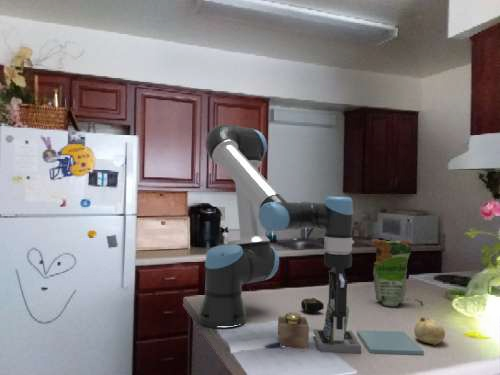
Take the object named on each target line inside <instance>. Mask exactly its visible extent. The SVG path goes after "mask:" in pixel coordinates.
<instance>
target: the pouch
mask: <svg viewBox="0 0 500 375" xmlns="http://www.w3.org/2000/svg"><path fill="white" fill-rule="evenodd" d="M372 242H373V244H374V247H375V250H376V253H375V257H376V261H374V263H373V271H372V274H373V277H374V278H373V284H374V291H375V299H376V300H377V301H380V302H382V306H385V307H398V306H399V304H400V303H403V302H404V301H405V297H406V296H405V295H406V291H407V286H406V284H407V281H406V280H407V272H408V267H407V266H408V265H409V264H408V262H409V261H408V260H409V258H410V255H411V253H412V247H411V246H412V245H411V244H412V242H410V241H409V240H393V239H392V238H390V239H389V241H388V240H381V239H379V238H374V239H373V238H372Z"/></svg>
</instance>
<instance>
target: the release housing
mask: <svg viewBox="0 0 500 375" xmlns="http://www.w3.org/2000/svg"><path fill="white" fill-rule="evenodd" d="M277 318H278V320H277V336H278V335H279V342H278V344H279V343H280V345H281V346H285V347H292V348H291V349H304V348H308V349H309V336H310V335H309V333H310V332H309V331H310V329H309V328H310V326H309V322H308V321H307V317H306V316H301V319H300V320H298V324H290V323H288V320H287V319H286V318H285V315H284V316H282V315H281V316H280V315H278V317H277Z"/></svg>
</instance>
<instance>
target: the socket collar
mask: <svg viewBox="0 0 500 375" xmlns="http://www.w3.org/2000/svg"><path fill="white" fill-rule="evenodd" d="M323 330H324V329H313V330H312V331H313V332H312V334H313V333H314V335H315V339H314V343H315V344H316V345H315V346H316V348H317V350H318V352H319V351H320V352H319V353H323V352H324V353H338V354H339V353H340V354H341V353H343V354H362V345H361V344H360V342H359V340H358V339H357V337H356V335H355V334H354V333H353V331H352V330H346V333H345V339H344V340H346V339H347V340H349V342H350V343H342V344H335V343H328V342H323V340H322V338H323ZM323 339H324V338H323Z"/></svg>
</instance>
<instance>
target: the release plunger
mask: <svg viewBox="0 0 500 375" xmlns="http://www.w3.org/2000/svg"><path fill="white" fill-rule="evenodd" d="M284 316H285V318H286V319H287V320H288V323H290V324H298V320H300V319H301V317H302V315H301V314H300V313H297V312H287V313H285V315H284Z"/></svg>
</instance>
